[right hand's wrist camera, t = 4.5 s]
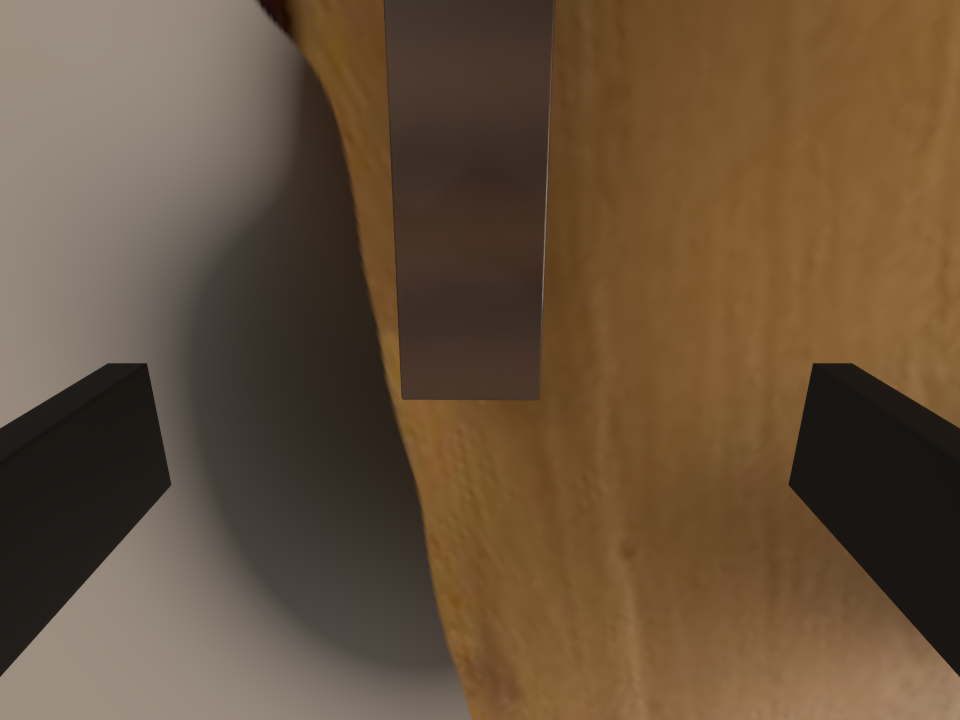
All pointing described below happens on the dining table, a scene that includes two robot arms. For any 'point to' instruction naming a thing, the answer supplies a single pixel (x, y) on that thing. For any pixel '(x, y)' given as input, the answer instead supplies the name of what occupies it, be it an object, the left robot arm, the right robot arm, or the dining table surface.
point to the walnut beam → (470, 192)
